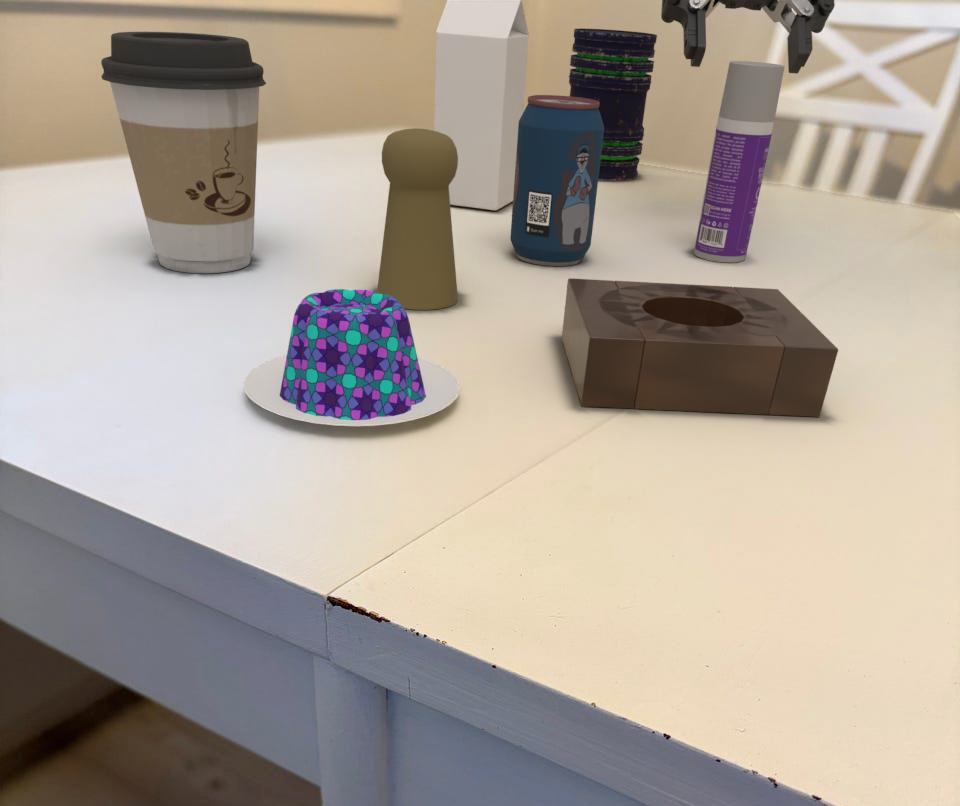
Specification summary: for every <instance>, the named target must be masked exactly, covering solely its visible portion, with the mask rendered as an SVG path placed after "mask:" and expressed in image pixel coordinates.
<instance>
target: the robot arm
mask: <svg viewBox="0 0 960 806" xmlns="http://www.w3.org/2000/svg"><path fill="white" fill-rule="evenodd" d="M720 4H721V5H723V6H724V8H725V9H730V10H731V9H732V10H733V9H734V10H735V9H741V8H744V9H746V10H751V11H762V10H763V11H764V12H765V14H766V15H767V16H768V17H769V18H770V19H771V21H772V22H773V23H776V24H777V23H779V24H781V26H782V27H783V28H784V29H785V30H786V32H788V36H787V39H786V41H787V66H788V74H795V75H798V74H799V72H800V71H801V69H802V68H804V67H805V65H806V64H807V61H808V60H809V59H810V56H811V54H812V52H813V33H814V34H819V33H821V32H823V30H824V28H825V25H826V23H827V22H828V20H829V17H830V15H831V14H832V12H833V10H834V9H835V6H836V3H835V0H661V12H660V13H661V15H660V17H661V20H662V21H663V22H664V23H666V24H672V23H674V21H675V22H677V23H678V24H680V25H681V28H682V29H683V31H682V32H683V56H684V57H685V59H686V60H690V67H693V68H694V67H695V68H700V67H701V65H702V63H703V60H704V56H705V54H706V51H707V49H706V48H707V33H706V32H707V30H706V29H707V26H706V25H707V24H706V23H707V22H706V21H707V18H709V16H710V15H711V14H712V12H713V11H714V10H715V9H716V8H717V7H718V6H719V5H720Z"/></svg>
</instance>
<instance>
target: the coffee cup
mask: <svg viewBox="0 0 960 806" xmlns="http://www.w3.org/2000/svg"><path fill="white" fill-rule="evenodd" d="M100 64H101V67H102V69H103V73H102V74H101V79H102V81H106V82H109V84H110V87H111V91H112V96H113V98H114V102H115V106H116V111H117V114H118V119H119V121H120V126H121V129H122V134H123V137H124V142H125V145H126V148H127V153H128V156H129V161H130V164H131V167H132V171H133V175H134V179H135V183H136V186H137V190H138V195H139V198H140V202H141V206H142V211H143V213H144V217H145V222H146V225H147V228H148V232H149V237H150V240H151V244H152V248H153V251H154V253H155V254H157V258H158V262H159V264H160V266H162V267H163V268H165V269H169V270H172V271H174V272H181V273H188V274H220V273H227V272H234V271H238V270H242V269H244V268H246V267H248V266H249V265H250V263H251V260H252V252H253V250H254V239H255V237H254V236H255V215H256V209H255V208H256V184H257V161H258V159H257V156H258V135H259V134H258V133H259V107H260V105H259V104H260V87H264V86H265V85H266V84H267V82H266V81H265V79H264V71H265V70H264V67H263V65H261V64H259V63H258V62H254V61H253V59H252V53H251V47H250V43H249V41H247V40H246V38H245V39H244V38H241V37H236V36H229V35H220V34H207V33H193V32H177V31H176V32H174V31H120V32H119V31H118V32H115V33H112V34H111V35H110V55H109V56H106V57H103V58H102V59H101V62H100Z"/></svg>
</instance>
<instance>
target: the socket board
mask: <svg viewBox="0 0 960 806" xmlns="http://www.w3.org/2000/svg"><path fill="white" fill-rule="evenodd" d="M561 341H562V344H563V347H564V350H565V351H564V352H565V354H566V355H565V356H566V359H567V360H568V365H569V368H570V372H571V375H572V378H573V382H574V385H575V388H576V392H577V396H578V399H579V402H580V405H581V406H582V407H593V408H614V409H615V408H617V409H636V410H654V411H655V410H657V411H677V412H678V411H679V412H701V413H725V414H744V415H745V414H748V415H769V416H792V417H793V416H794V417H812V418H813V417H816V418H818V417H820V416H821V414H822V410H823V405H824V402H825V399H826V395H827V393H828V388H829V385H830V382H831V377H832V374H833V371H834V367H835V364H836V360H837V356H838V352H839V348H838V347H837V346H835V344H834V343H833V342H832V341H831V340H830V339H829V338H828V337H826V335H825V334H823V332H822V331H821V330H820V329H819V328H817V327H816V326H815V324H813V322H811V320H810V319H808V317H807V316H805V314H804V313H803V312H802V311H801V310H800V309H798V308H797V306H795V304H794V303H793V302H791V301H790V300H789V298H787V297H786V295H784V294H783V293H782V291H780V289H778V288H763V287H762V288H761V287H760V288H759V287H745V286H744V287H743V286H727V285H726V286H724V285H722V286H721V285H707V284H706V285H704V284H687V283H667V282H647V281H631V280H630V281H629V280H606V279H591V278H590V279H588V278H568V279H567V284H566V294H565V304H564V313H563V324H562V332H561Z"/></svg>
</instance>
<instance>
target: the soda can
mask: <svg viewBox="0 0 960 806" xmlns="http://www.w3.org/2000/svg"><path fill="white" fill-rule="evenodd" d="M599 105H600V103H599V102H598V101H596V100H592V99H587V98H580V97H571V96H570V95H555V94H534V95H533V94H532V95H530V96H528V97H527V105H526V106H525V109H523V114H522V116H521V118H520V120H519V125H518V139H517V153H516V167H515V181H514V195H513V201H512V209H511V224H510V225H511V226H510V235H509V236H510V237H509V239H510V243H511V245H512V247H513V248H512V249H513V250H514V253H515V254H516V256H517V258H518V259H519V260H521V261H523V262H526V263H530V264H533V265H537V266H538V265H539V266H546V267H567V266H574V265H577V264H580V263H581V261H582V260H583V259H584V257H585V256H586V254H587V253H588V251H589V249H590V248H591V245H592V238H593V237H592V236H593V229H594V220H595V211H596V203H597V195H598V194H597V193H598V186H599V185H598V184H599V180H598V178H599V169H600V160H601V152H602V143H603V134H604V125H603V122H602V118H601V115H600V112H599V109H598V108H599Z"/></svg>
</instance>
